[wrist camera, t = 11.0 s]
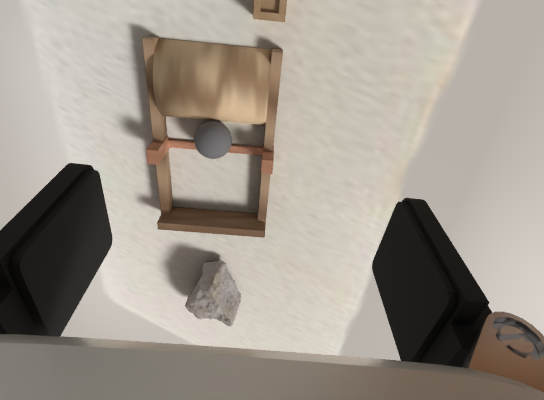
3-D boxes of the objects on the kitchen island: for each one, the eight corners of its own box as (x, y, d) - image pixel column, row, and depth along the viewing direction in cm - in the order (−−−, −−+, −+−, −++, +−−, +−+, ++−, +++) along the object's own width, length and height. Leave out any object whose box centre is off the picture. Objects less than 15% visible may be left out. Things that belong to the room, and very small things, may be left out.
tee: (256, -20, 30) (255, -20, 28) (287, -16, 30) (288, -16, 28) (254, 16, 32) (253, 18, 30) (284, 19, 32) (284, 22, 30)
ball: (188, 146, 34) (194, 162, 38) (228, 150, 34) (230, 166, 38) (193, 111, 35) (199, 131, 39) (232, 115, 35) (234, 134, 39)
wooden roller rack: (161, 29, 37) (132, 42, 29) (282, 41, 37) (284, 57, 30) (174, 192, 48) (156, 231, 41) (266, 199, 49) (265, 240, 41)
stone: (191, 302, 53) (184, 336, 49) (178, 258, 48) (169, 292, 43) (242, 300, 53) (240, 334, 49) (236, 256, 48) (233, 289, 43)
